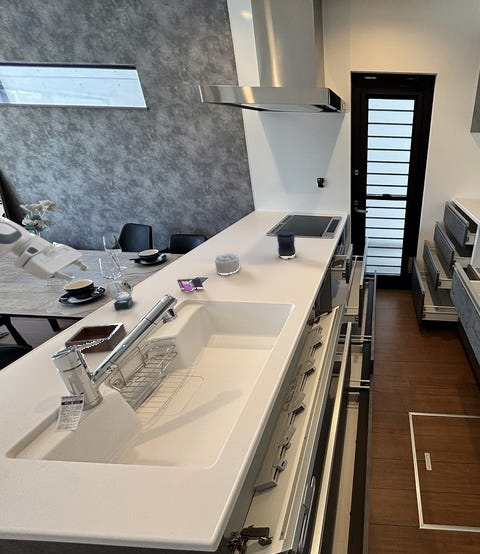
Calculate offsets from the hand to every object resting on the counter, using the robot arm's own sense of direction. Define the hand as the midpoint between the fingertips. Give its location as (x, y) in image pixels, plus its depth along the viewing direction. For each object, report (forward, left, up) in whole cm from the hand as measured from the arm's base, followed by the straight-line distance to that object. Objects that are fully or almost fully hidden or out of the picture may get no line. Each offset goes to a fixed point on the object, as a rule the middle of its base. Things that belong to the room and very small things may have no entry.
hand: (80, 274), depth 114 cm
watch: (+11, 0, -15) cm, 19 cm away
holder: (+14, -26, -15) cm, 33 cm away
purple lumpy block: (+33, +9, -15) cm, 37 cm away
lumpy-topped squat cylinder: (+45, +31, -15) cm, 56 cm away
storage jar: (+75, +50, -15) cm, 91 cm away
